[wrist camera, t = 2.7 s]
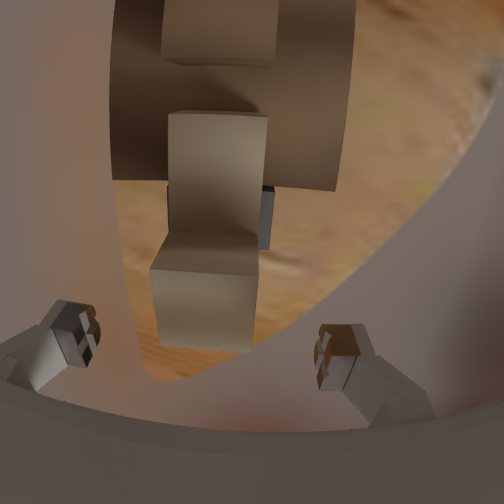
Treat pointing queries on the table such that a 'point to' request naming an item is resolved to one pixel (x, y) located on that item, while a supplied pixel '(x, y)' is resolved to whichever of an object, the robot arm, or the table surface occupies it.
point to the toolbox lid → (233, 80)
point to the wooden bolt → (211, 231)
